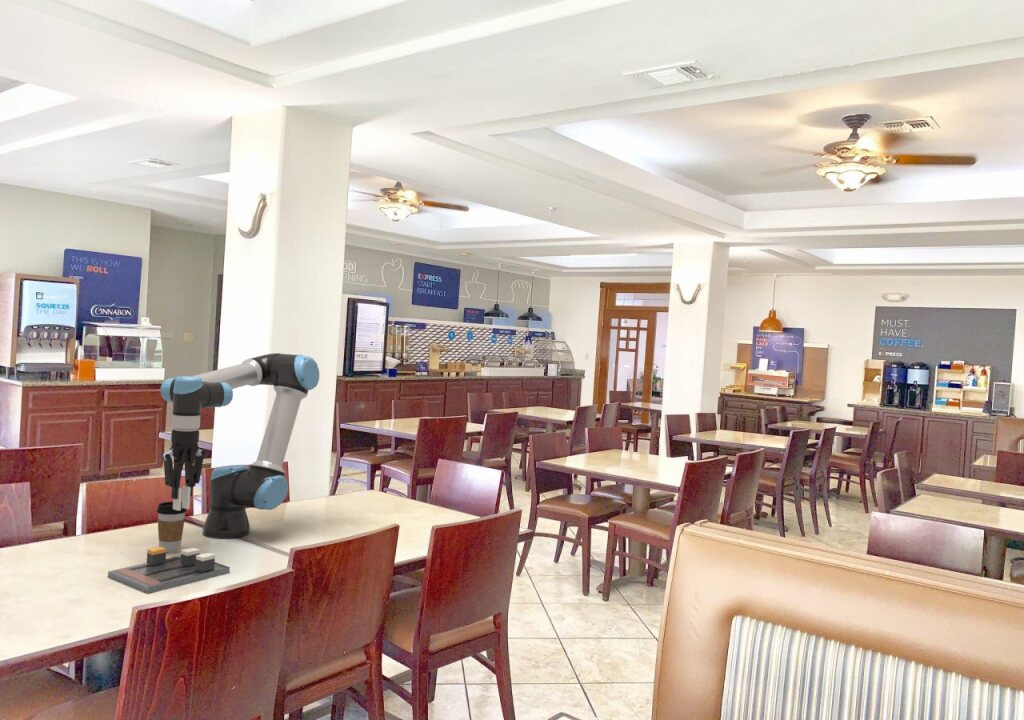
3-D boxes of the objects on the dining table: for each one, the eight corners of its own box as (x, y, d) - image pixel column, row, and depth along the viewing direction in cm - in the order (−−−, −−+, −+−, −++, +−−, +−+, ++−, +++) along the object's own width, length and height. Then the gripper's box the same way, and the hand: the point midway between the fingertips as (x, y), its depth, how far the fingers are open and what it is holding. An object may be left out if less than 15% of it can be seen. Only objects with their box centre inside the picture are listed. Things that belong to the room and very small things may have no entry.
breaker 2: (207, 566, 219) (208, 552, 219) (214, 568, 217) (215, 554, 217) (195, 569, 215) (196, 555, 215) (201, 571, 214) (202, 557, 214)
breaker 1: (192, 561, 223) (193, 547, 222) (199, 563, 221) (199, 549, 221) (180, 564, 219) (181, 550, 219) (186, 566, 218) (187, 552, 217)
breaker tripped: (159, 560, 221) (160, 546, 221) (165, 562, 220) (166, 548, 220) (146, 563, 218) (147, 549, 218) (152, 565, 216) (153, 551, 216)
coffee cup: (173, 556, 232) (175, 507, 232) (148, 552, 234) (151, 504, 233) (190, 549, 240) (192, 501, 240) (166, 545, 242) (168, 498, 242)
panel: (189, 558, 231) (189, 553, 231) (229, 572, 220) (229, 566, 220) (107, 577, 210) (108, 571, 210) (147, 593, 199) (148, 587, 199)
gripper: (200, 426, 232) (196, 503, 233) (153, 429, 219) (149, 510, 220) (216, 429, 228) (211, 507, 229) (169, 432, 215) (164, 515, 216)
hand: (181, 508), depth 224 cm, fingers open, 2 cm apart
